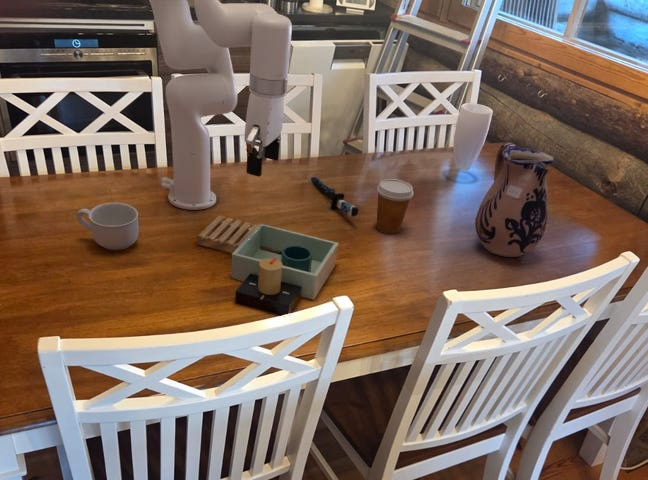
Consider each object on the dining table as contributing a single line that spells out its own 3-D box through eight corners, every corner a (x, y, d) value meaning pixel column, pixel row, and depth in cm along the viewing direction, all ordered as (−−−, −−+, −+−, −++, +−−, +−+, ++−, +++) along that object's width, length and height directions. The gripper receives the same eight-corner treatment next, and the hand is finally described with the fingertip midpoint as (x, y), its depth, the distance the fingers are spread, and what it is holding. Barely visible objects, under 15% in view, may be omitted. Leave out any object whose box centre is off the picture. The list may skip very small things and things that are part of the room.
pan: (313, 268, 147) (316, 249, 144) (304, 282, 141) (306, 263, 138) (264, 256, 149) (265, 237, 146) (253, 269, 144) (254, 250, 141)
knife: (358, 224, 166) (360, 207, 163) (347, 224, 165) (349, 208, 162) (318, 187, 189) (319, 172, 187) (308, 187, 188) (310, 172, 186)
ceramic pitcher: (497, 270, 157) (528, 174, 141) (447, 231, 171) (471, 140, 155) (549, 260, 164) (584, 167, 148) (497, 223, 178) (524, 135, 162)
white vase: (478, 184, 199) (497, 115, 186) (446, 181, 199) (462, 111, 185) (472, 171, 207) (490, 104, 194) (441, 168, 207) (457, 100, 193)
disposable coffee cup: (410, 226, 171) (419, 184, 163) (398, 240, 164) (407, 197, 156) (377, 216, 173) (385, 175, 166) (365, 229, 166) (372, 187, 159)
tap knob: (275, 297, 131) (277, 271, 127) (254, 291, 132) (255, 264, 128) (283, 286, 135) (286, 260, 131) (263, 280, 136) (264, 254, 132)
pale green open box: (231, 278, 141) (231, 254, 137) (259, 246, 154) (260, 223, 150) (313, 300, 137) (316, 276, 134) (335, 265, 150) (338, 242, 146)
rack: (196, 246, 150) (195, 234, 148) (217, 225, 159) (217, 214, 158) (242, 258, 148) (243, 246, 146) (261, 236, 157) (262, 225, 155)
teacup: (149, 240, 150) (147, 209, 145) (123, 260, 142) (120, 228, 137) (98, 226, 153) (94, 195, 148) (70, 245, 145) (65, 213, 140)
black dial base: (234, 304, 133) (234, 291, 131) (250, 283, 140) (251, 271, 138) (287, 318, 131) (288, 306, 129) (301, 297, 138) (302, 285, 136)
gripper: (267, 70, 132) (262, 149, 143) (232, 91, 119) (230, 176, 130) (300, 77, 131) (292, 157, 142) (269, 100, 118) (263, 185, 129)
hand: (262, 166), depth 136 cm, fingers open, 9 cm apart
